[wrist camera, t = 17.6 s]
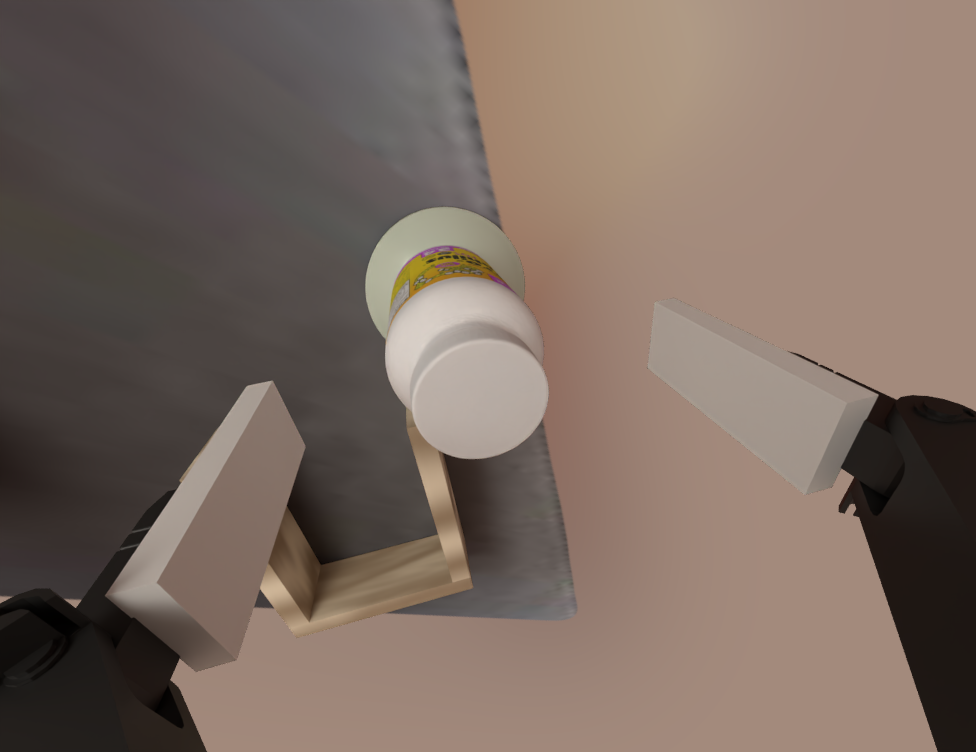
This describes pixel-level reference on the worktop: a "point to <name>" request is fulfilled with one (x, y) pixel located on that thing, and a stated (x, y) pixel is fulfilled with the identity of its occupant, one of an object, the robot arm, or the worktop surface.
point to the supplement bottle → (464, 354)
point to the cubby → (370, 562)
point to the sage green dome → (434, 231)
